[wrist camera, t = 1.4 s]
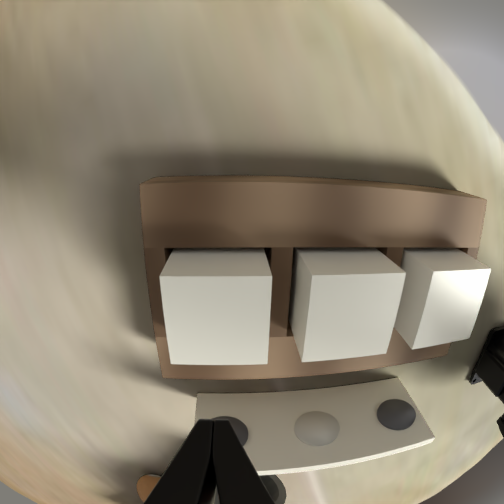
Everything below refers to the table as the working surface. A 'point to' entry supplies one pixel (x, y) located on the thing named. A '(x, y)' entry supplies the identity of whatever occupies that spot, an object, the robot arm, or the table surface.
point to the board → (297, 235)
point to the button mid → (343, 301)
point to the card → (320, 425)
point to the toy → (270, 482)
